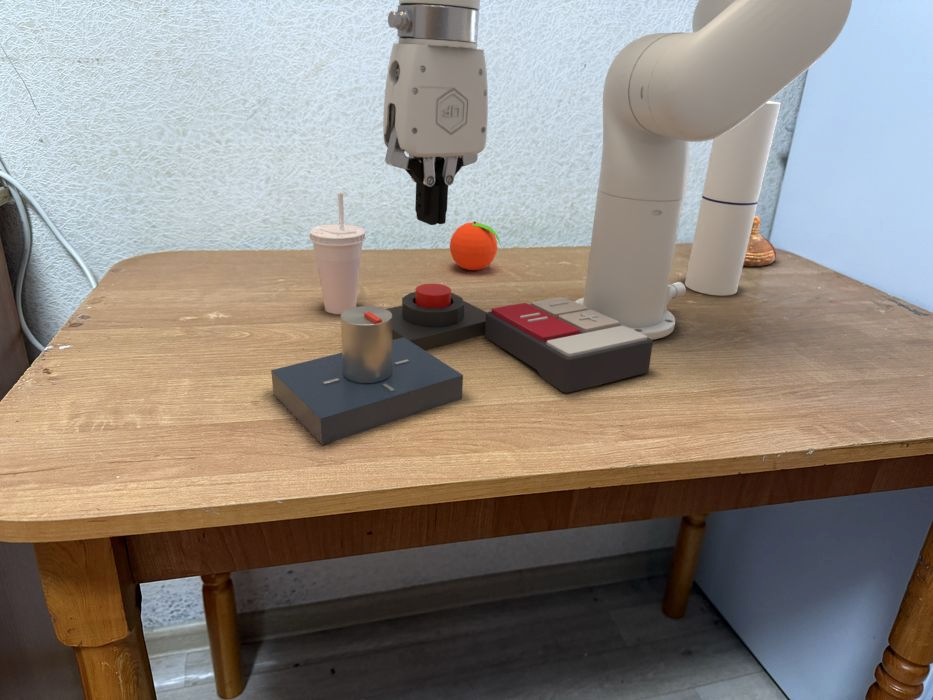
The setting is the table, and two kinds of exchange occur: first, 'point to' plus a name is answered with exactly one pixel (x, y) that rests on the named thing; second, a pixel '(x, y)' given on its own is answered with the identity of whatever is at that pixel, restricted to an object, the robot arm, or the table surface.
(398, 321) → the button block
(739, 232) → the cylindrical container
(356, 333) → the knob
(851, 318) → the table surface
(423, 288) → the button
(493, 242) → the clementine
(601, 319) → the calculator
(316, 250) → the smoothie
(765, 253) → the bell
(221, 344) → the table surface
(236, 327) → the table surface
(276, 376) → the panel
